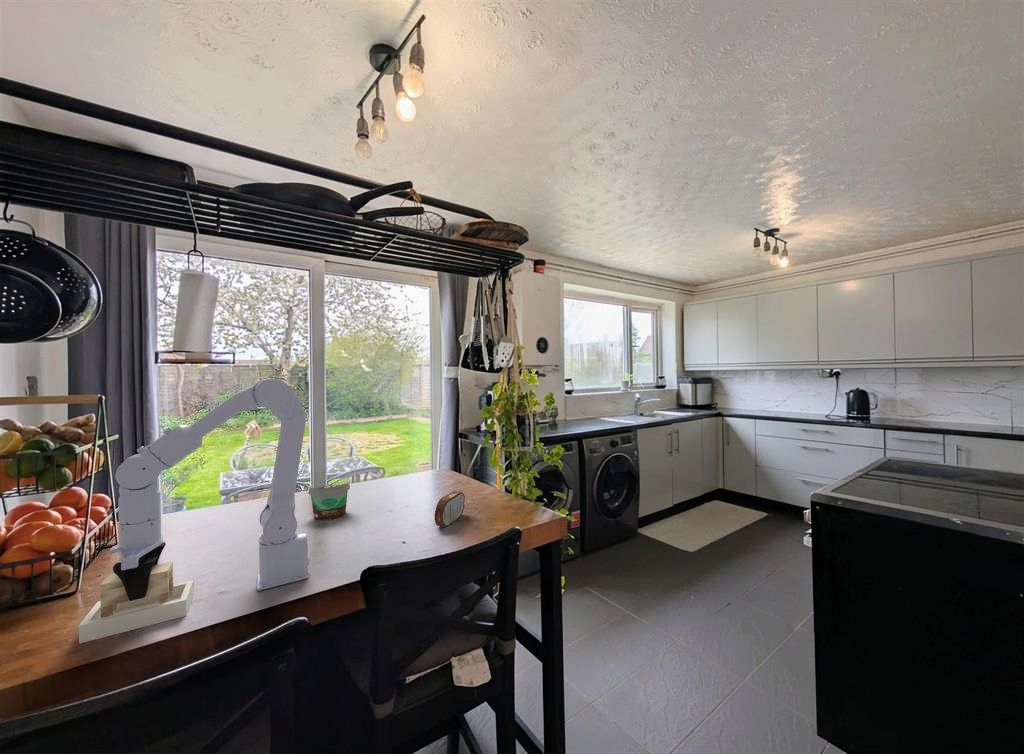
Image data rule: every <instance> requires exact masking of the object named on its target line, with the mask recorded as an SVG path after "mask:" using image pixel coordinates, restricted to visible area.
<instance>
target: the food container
mask: <svg viewBox="0 0 1024 754" xmlns="http://www.w3.org/2000/svg"><path fill="white" fill-rule="evenodd" d="M350 489H351V486H350V482H349V480H347V482H346V483H343V484H330V485H325V486H323V487H319V488H316V487H315V488H314V487H311V486H309V489H308V493H307V494H308V495H310V498H311V507H312V513H313V519H315V520H316V521H317V520H318V521H330V520H335V519H338V518H341V517H344V516H345V514H346V512H347V503H348V501H347V500H348V492H349V491H348V490H350Z"/></svg>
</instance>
